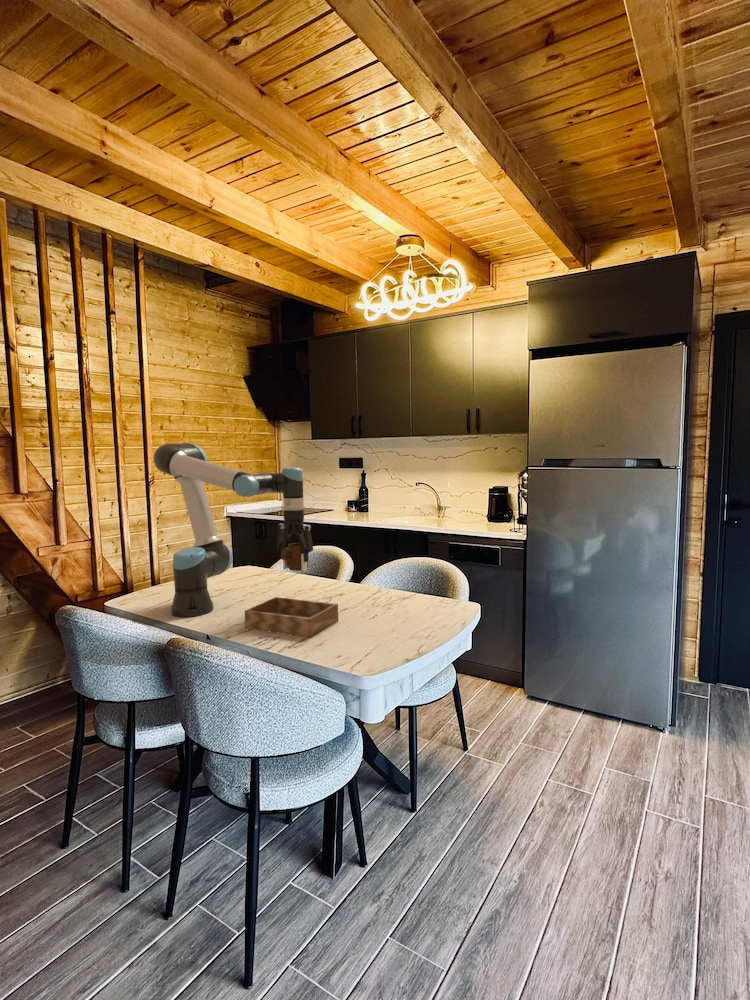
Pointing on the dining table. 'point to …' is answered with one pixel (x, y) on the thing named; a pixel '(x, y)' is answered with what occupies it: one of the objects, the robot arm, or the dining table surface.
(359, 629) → the dining table surface
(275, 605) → the crate
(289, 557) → the mug
